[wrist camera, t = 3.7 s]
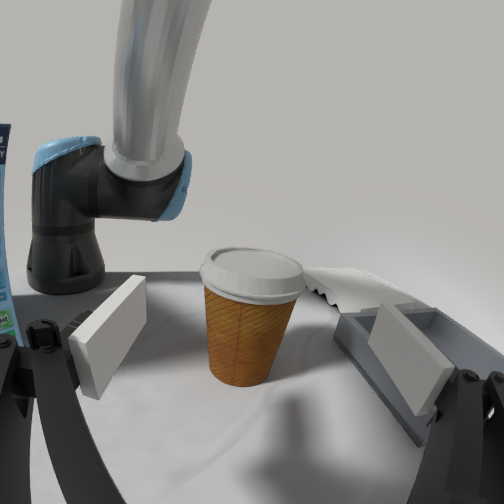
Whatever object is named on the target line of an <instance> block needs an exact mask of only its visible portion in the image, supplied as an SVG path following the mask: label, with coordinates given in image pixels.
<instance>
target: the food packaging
mask: <svg viewBox="0 0 504 504" xmlns="http://www.w3.org/2000/svg"><path fill="white" fill-rule="evenodd" d="M303 278H304V279H305V281H306V285H307V288H308V289H309V290H310V291H311V292H312V291H315V290H318V293H319V294H324V293H325V294H326V297H327V301H328V303H329V304H330V305H333V304H337V306H338V308H339V311H340V313H355V312H378V310H379V307H380V304H381V303H392V304H393V305H394V306H395V307H396V308H397V309H398V310H412V309H414V306H415V303H416V301H414V300H412V299H410V298H408V297H406V296H404V295H403V294H401V293H399V292H397V291H395V290H393V289H391V288H389V287H387V286H385V285H383V284H382V283H380V282H378V281H376V280H374V279H372V278H370V277H368V276H366V275H364V274H362V273H360V272H358V271H356V270H354V269H352V268H303Z"/></svg>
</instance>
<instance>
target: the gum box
mask: <svg viewBox="0 0 504 504" xmlns="http://www.w3.org/2000/svg"><path fill="white" fill-rule="evenodd" d="M10 129H11V124H0V334H12V335H13V336H15V337H16V339H17V342H18V346H22V347H24V344H23V341H22V338H21V334H20V330H19V326H18V322H17V318H16V314H15V309H14V304H13V299H12V294H11V288H10V282H9V275H8V268H7V260H6V251H5V237H4V213H3V211H4V208H3V206H4V203H3V202H4V201H3V200H4V175H5V164H6V154H7V146H8V140H9V133H10Z"/></svg>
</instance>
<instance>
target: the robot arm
mask: <svg viewBox="0 0 504 504" xmlns="http://www.w3.org/2000/svg"><path fill="white" fill-rule="evenodd" d="M211 1H212V0H122V5H121V11H120V18H119V25H118V33H117V42H116V53H115V66H114V85H113V136H111V137H110V139H109V140H108V142H107V143H106V145H105V146H101V144H102V142H101V139H100V138H99V137H95V136H83V137H69V138H63V139H58V140H54V141H50V142H47V143H45V144H43V145H42V146H40V147H39V148H38V150H37V151H36V154H35V159H34V166H33V171H32V241H31V246H30V251H29V257H28V263H27V278H28V283H29V285H30V286H31V287H32V288H33V289H35V290H37V291H40V292H43V293H48V294H70V293H77V292H81V291H85V290H88V289H90V288H92V287H94V286H96V285H98V284H99V283H101V282H102V281H103V279H104V277H105V265H104V261H103V258H102V255H101V252H100V249H99V245H98V243H97V239H96V236H95V230H94V225H95V224H94V223H95V222H94V221H95V218H111V219H131V220H146V221H152V222H156V221H170V220H173V219H175V218H176V217H177V216H178V215H179V214H180V212H181V210H182V208H183V205H184V202H185V199H186V195H187V188H188V186H189V182H190V176H191V169H192V157H191V154H190V152H188V151H186V150H185V148H184V144H183V142H182V140H181V138H180V137H179V136H178V135H177V131H178V126H179V120H180V115H181V111H182V106H183V102H184V96H185V92H186V88H187V84H188V80H189V76H190V72H191V68H192V64H193V60H194V56H195V53H196V49H197V45H198V42H199V39H200V35H201V32H202V28H203V25H204V22H205V19H206V16H207V12H208V10H209V7H210V3H211ZM146 322H147V318H146V277H145V276H138V275H132V276H131V277H130V278H129V279H128V280H127V281H125V282H124V283H123V284H122V285H121V286H120V287H119V288H118V289H117V290H116V291H115V292H114V293H113V294H112V295H111V296H110V297H109V298H107V299H106V300H105V301H104V302H103V303H102V304H101V305H100V306H99V307H98V308H97V309H96V310H95V311H94V312H92V311H86V312H84V313H82V314H80V315H78V316H77V317H76V318H75V319H74V321H72V322H71V323H70V324H69V326H67V327H66V328H65V329H64V330H63V331H62V332H61V333H59V328H58V325H57V323H56V322H54V321H53V320H48V319H40V320H36V321H34V322H32V323H30V324H29V325H28V326H27V328H26V333H27V337H28V340H29V344H30V347H31V348H30V347H22V346H18V342H17V339H16V337H15V336H13V335H12V334H0V504H31V492H30V436H31V423H32V413H33V405H34V398H37V404H38V410H39V415H40V420H41V424H42V429H43V433H44V437H45V441H46V445H47V449H48V452H49V456H50V459H51V462H52V465H53V468H54V471H55V474H56V477H57V480H58V483H59V485H60V488H61V491H62V493H63V496H64V498H65V500H66V503H67V504H126V502H125V500H124V499H123V497H122V495H121V494H120V492H119V490H118V488H117V487H116V485H115V483H114V481H113V479H112V478H111V476H110V474H109V472H108V470H107V468H106V466H105V464H104V462H103V460H102V458H101V456H100V453H99V451H98V449H97V447H96V445H95V442H94V440H93V438H92V435H91V433H90V430H89V428H88V425H87V423H86V420H85V418H84V415H83V412H82V409H81V407H80V404H79V401H78V398H77V395H76V392H75V390H76V389H77V388H78V386H79V385H80V388H81V391H82V394H83V395H85V396H87V397H90V398H93V399H96V400H100V398H101V396H102V395H103V393H104V391H105V389H106V388H107V386H108V384H109V382H110V381H111V379H112V377H113V376H114V374H115V372H116V371H117V369H118V367H119V366H120V364H121V362H122V361H123V359H124V357H125V356H126V354H127V352H128V351H129V349H130V348H131V346H132V344H133V343H134V341H135V339H136V338H137V336H138V335H139V333H140V331H141V330H142V328H143V327H144V325H145V324H146ZM368 344H369V346H370V347H371V349H372V350H373V352H374V353H375V355H376V356H377V358H378V359H379V361H380V362H381V364H382V365H383V367H384V368H385V370H386V371H387V373H388V374H389V376H390V377H391V379H392V380H393V382H394V383H395V385H396V386H397V388H398V390H399V391H400V393H401V394H402V396H403V397H404V399H405V400H406V402H407V404H408V405H409V407H410V408H411V410H412V412H413V413H414V415H415V416H421V415H425V414H428V413H429V411H430V410H431V408H432V406H433V405H435V406H436V407H437V410H436V411H435V413H434V414H433V416H432V417H431V419H430V420H429V422H428V423H427V425H426V426H427V427H428V426H429V424H431V423H432V424H431V427H430V432H429V437H428V440H427V444H426V448H425V452H424V455H423V458H422V462H421V465H420V468H419V471H418V474H417V477H416V480H415V483H414V485H413V488H412V491H411V493H410V496H409V498H408V501H407V503H406V504H504V374H503V373H501V372H497V371H492V372H490V374H489V376H488V378H487V380H481V379H480V377H479V376H478V375H477V374H476V373H475V372H474V371H471V370H469V369H461V370H459V369H458V368H457V367H456V365H455V364H454V363H453V362H452V361H451V360H450V359H449V358H448V357H446V355H445V354H444V353H442V351H441V350H440V349H439V348H438V347H437V346H436V345H434V344H433V343H432V342H431V341H430V340H429V339H428V338H427V337H426V336H425V335H424V334H423V333H422V332H421V331H420V330H419V329H418V328H417V327H416V326H415V325H414V324H413V323H412V322H411V321H410V320H409V319H408V318H406V317H405V316H404V315H403V314H402V313H401V312H400V311H399V310H398V309H397V308H396V307H395V306H394V305H393V304H392V303H381V304H380V307H379V310H378V313H377V316H376V319H375V323H374V326H373V328H372V331H371V334H370V337H369V340H368ZM493 408H494V414H493V415H492V417H491V418H490V419H489V417H488V415H489V413H490V412H491V410H492V409H493Z"/></svg>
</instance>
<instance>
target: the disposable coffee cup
mask: <svg viewBox="0 0 504 504" xmlns="http://www.w3.org/2000/svg"><path fill="white" fill-rule="evenodd" d="M200 275H201V277H202V281H203V283H204V291H205V306H206V307H205V309H206V323H207V324H206V325H207V338H208V352H209V363H210V364H209V366H210V370H211V372H212V374H213V375H214V376H215V377H216V378H218V379H219V380H220V381H222V382H224V383H227V384H229V385H234V386H240V387H246V386H253V385H256V384H259V383H260V382H262V381H264V380H265V379H266V377H267V375H268V373H269V371H270V368H271V366H272V363H273V361H274V358H275V356H276V353H277V351H278V348H279V346H280V343H281V340H282V338H283V335H284V332H285V330H286V327H287V324H288V322H289V319H290V316H291V313H292V311H293V308H294V305H295V303H296V300H297V298H298V297H299V296H300V294H301V292H302V291H303V290H304V289H305V286H306V281H305V279H304V278H303V267H302V265H301V264H300V263H299V262H297V261H296V260H294V259H292V258H290V257H287V256H284V255H282V254H279V253H275V252H272V251H267V250H263V249H256V248H248V247H224V248H218V249H215V250H211V251H210V252H208V254H207V256H206V258H205V262H204V264H202V265H201V267H200Z"/></svg>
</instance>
